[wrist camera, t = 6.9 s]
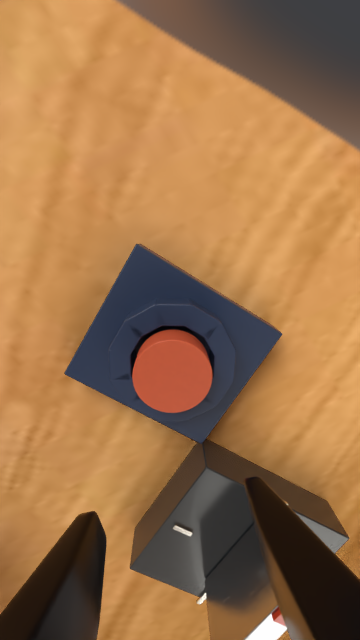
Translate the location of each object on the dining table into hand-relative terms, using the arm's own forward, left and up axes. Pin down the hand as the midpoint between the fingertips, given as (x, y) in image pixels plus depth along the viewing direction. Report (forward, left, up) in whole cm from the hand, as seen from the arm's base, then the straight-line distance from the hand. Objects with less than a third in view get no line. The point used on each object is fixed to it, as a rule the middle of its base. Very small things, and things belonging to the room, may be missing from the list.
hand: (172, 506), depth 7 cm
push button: (0, 0, -9) cm, 9 cm away
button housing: (0, 0, -12) cm, 12 cm away
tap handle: (+11, -10, -9) cm, 18 cm away
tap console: (+12, -10, -12) cm, 19 cm away
